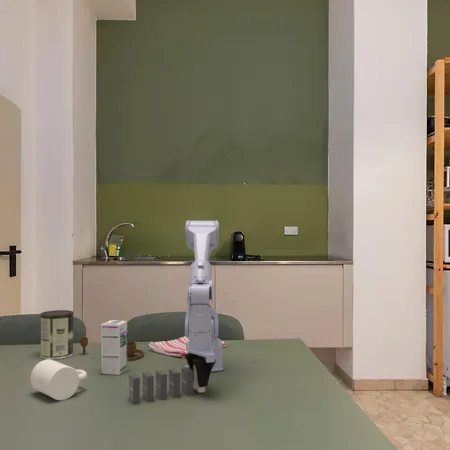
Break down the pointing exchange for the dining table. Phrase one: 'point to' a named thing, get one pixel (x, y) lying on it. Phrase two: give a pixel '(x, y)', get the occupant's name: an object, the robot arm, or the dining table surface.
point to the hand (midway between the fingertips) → (199, 384)
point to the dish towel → (173, 347)
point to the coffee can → (56, 334)
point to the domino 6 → (196, 382)
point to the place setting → (130, 349)
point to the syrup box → (114, 347)
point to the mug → (56, 379)
